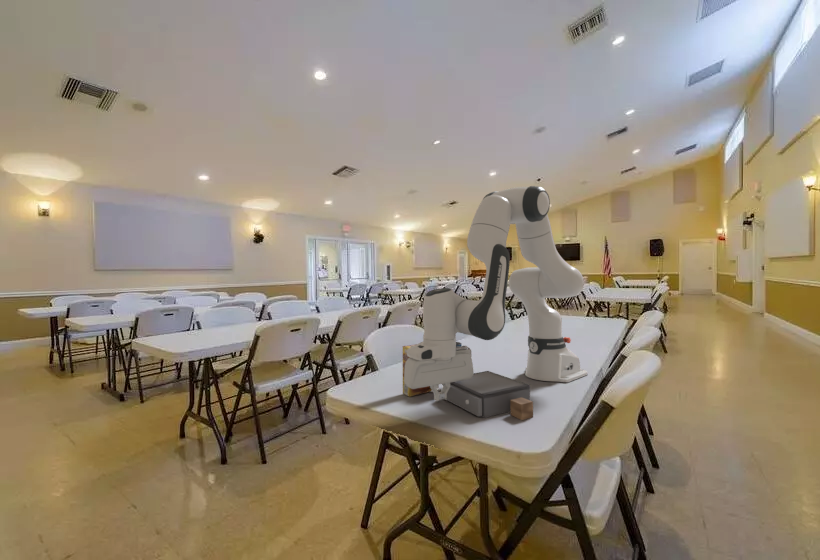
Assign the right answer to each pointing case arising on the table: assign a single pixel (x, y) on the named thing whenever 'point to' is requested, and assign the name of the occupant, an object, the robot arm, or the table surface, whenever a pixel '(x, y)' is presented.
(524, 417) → the block
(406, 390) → the candy box
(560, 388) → the table surface
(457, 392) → the gray drawer
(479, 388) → the housing
